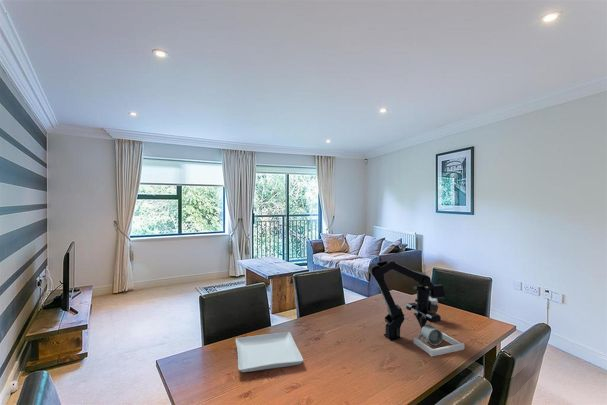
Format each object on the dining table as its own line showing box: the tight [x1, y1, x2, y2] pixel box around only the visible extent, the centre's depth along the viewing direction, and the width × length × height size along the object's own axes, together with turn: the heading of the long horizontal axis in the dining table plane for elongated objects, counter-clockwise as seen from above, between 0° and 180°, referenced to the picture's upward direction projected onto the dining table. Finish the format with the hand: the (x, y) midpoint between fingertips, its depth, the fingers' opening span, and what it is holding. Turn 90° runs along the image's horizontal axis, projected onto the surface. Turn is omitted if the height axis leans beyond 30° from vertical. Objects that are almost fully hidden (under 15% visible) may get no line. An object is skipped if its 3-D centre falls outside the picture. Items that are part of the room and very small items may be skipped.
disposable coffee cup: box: [427, 296, 439, 322], centre depth 173 cm, size 10×10×12 cm
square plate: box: [235, 331, 304, 373], centre depth 133 cm, size 27×27×4 cm
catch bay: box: [413, 332, 465, 357], centre depth 141 cm, size 19×13×2 cm, turn 109°
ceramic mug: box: [416, 323, 444, 346], centre depth 146 cm, size 11×8×8 cm
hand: (422, 328), depth 151 cm, fingers closed
